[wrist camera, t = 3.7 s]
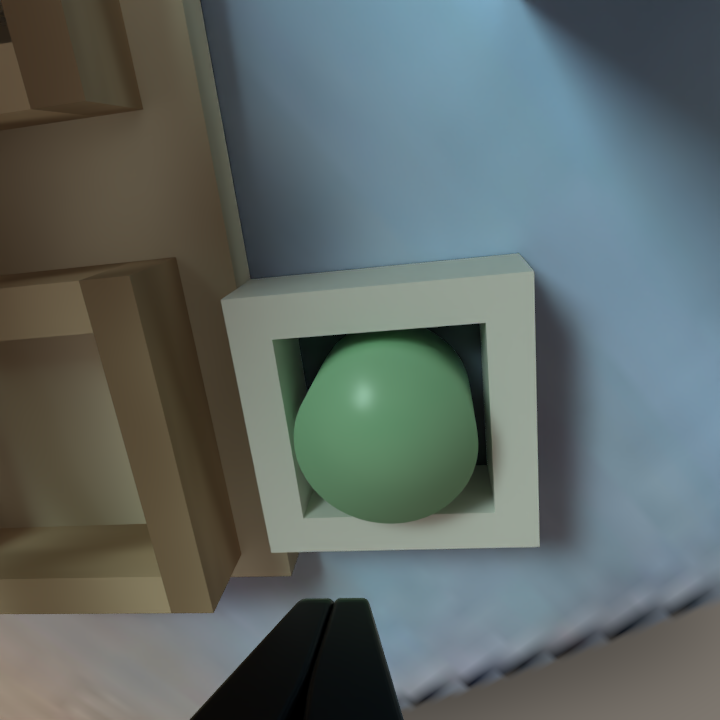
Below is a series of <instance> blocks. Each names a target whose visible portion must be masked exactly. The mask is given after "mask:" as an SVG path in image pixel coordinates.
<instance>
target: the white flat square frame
mask: <svg viewBox="0 0 720 720" xmlns="http://www.w3.org/2000/svg"><path fill="white" fill-rule="evenodd" d="M221 304H222V309H223V314H224V319H225V324H226V329H227V334H228V339H229V344H230V349H231V354H232V359H233V364H234V369H235V374H236V379H237V384H238V389H239V394H240V399H241V404H242V409H243V414H244V419H245V424H246V429H247V434H248V439H249V444H250V449H251V454H252V459H253V464H254V469H255V474H256V479H257V484H258V489H259V494H260V499H261V504H262V509H263V514H264V519H265V524H266V529H267V534H268V539H269V544H270V549H271V553H282V552H328V551H374V550H420V549H466V548H512V547H540V539H539V490H538V440H537V390H536V341H535V291H534V270H533V269H532V268H531V267H530V266H529V265H528V263H527V262H526V261H525V260H524V259H523V258H522V257H521V255H520V254H519V253H517V254H507V255H497V256H486V257H476V258H466V259H455V260H445V261H435V262H424V263H414V264H404V265H393V266H383V267H372V268H362V269H352V270H341V271H331V272H321V273H310V274H300V275H290V276H279V277H269V278H259V279H250V280H249V281H247V282H246V283H244V284H243V285H242V286H240V287H239V288H237V289H236V290H234V291H233V292H231V293H230V294H228V295H227V296H226V297H224V298H223V299H221ZM477 323H480V341H481V360H482V380H483V399H484V418H485V437H486V456H487V465H475V468H474V471H473V474H472V476H471V478H470V480H469V482H468V483H467V485H466V486H465V488H464V489H463V491H462V492H461V493H460V494H459V495H458V496H457V497H456V498H455V499H454V500H453V501H452V502H451V503H450V504H448V505H447V506H446V507H444V508H443V509H441V510H439V511H438V512H436V513H434V514H432V515H430V516H428V517H425V518H422V519H419V520H416V521H411V522H406V523H396V524H386V523H375V522H369V521H365V520H361V519H358V518H355V517H353V516H350V515H348V514H346V513H344V512H342V511H340V510H338V509H336V508H335V507H333V506H332V505H330V504H329V503H328V502H327V501H325V500H324V499H323V498H322V497H321V496H320V495H319V494H318V493H317V492H316V491H315V490H314V489H313V488H312V487H311V485H310V484H309V482H308V481H307V480H306V478H305V476H304V474H303V473H302V471H301V468H300V466H299V463H298V461H297V457H296V453H295V448H294V426H295V421H296V417H297V414H298V411H299V408H300V406H301V404H302V402H303V400H304V398H305V396H306V395H307V389H306V382H305V376H304V370H303V364H302V357H301V351H300V345H299V338H301V337H313V336H326V335H338V334H351V333H363V332H376V331H389V330H401V329H414V328H426V327H439V326H451V325H464V324H477Z"/></svg>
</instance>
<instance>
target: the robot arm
mask: <svg viewBox="0 0 720 720" xmlns="http://www.w3.org/2000/svg"><path fill="white" fill-rule="evenodd" d="M190 720H404V719H403V716H402V713H401V709H400V706H399V702H398V699H397V696H396V692H395V689H394V685H393V682H392V679H391V675H390V672H389V668H388V665H387V662H386V658H385V655H384V651H383V648H382V645H381V641H380V638H379V634H378V631H377V628H376V624H375V621H374V618H373V614H372V611H371V607H370V604H369V602H368V600H367V599H365V598H340V599H337V600H336V601H335V602H334V601H332V600H331V599H328V598H324V599H302V600H300V601H299V602H298V603H297V604H296V605H295V606H294V607H293V608H292V609H291V610H290V611H289V612H288V613H287V614H286V615H285V617H284V618H283V619H282V620H281V621H280V622H279V623H278V624H277V625H276V626H275V627H274V629H273V630H272V631H271V632H270V633H269V634H268V635H267V636H266V637H265V638H264V639H263V640H262V642H261V643H260V644H259V645H258V646H257V647H256V648H255V649H254V650H253V651H252V652H251V654H250V655H249V656H248V657H247V658H246V659H245V660H244V661H243V662H242V663H241V664H240V665H239V667H238V668H237V669H236V670H235V671H234V672H233V673H232V674H231V675H230V676H229V677H228V679H227V680H226V681H225V682H224V683H223V684H222V685H221V686H220V687H219V688H218V689H217V691H216V692H215V693H214V694H213V695H212V696H211V697H210V698H209V699H208V700H207V701H206V702H205V704H204V705H203V706H202V707H201V708H200V709H199V710H198V711H197V712H196V713H195V714H194V716H193V717H192V718H191V719H190Z"/></svg>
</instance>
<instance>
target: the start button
mask: <svg viewBox="0 0 720 720" xmlns="http://www.w3.org/2000/svg"><path fill="white" fill-rule="evenodd" d="M294 448H295V453H296V457H297V461H298V463H299V466H300V468H301V471H302V473H303V474H304V476H305V478H306V480H307V481H308V482H309V484H310V485H311V487H312V488H313V489H314V490H315V491H316V492H317V493H318V494H319V495H320V496H321V497H322V498H323V499H324V500H325V501H327V502H328V503H329V504H330V505H332V506H333V507H335V508H336V509H338V510H340V511H342V512H344V513H346V514H348V515H350V516H353V517H355V518H358V519H361V520H365V521H369V522H375V523H386V524H396V523H406V522H411V521H416V520H419V519H422V518H425V517H428V516H430V515H432V514H434V513H436V512H438V511H439V510H441V509H443V508H444V507H446V506H447V505H448V504H450V503H451V502H452V501H453V500H454V499H455V498H456V497H457V496H458V495H459V494H460V493H461V492H462V491H463V489H464V488H465V486H466V485H467V483H468V482H469V480H470V478H471V476H472V474H473V471H474V468H475V465H476V461H477V455H478V435H477V427H476V421H475V415H474V409H473V402H472V396H471V390H470V383H469V379H468V375H467V372H466V369H465V367H464V365H463V362H462V361H461V359H460V358H459V356H458V354H457V353H456V352H455V351H454V349H453V348H452V347H451V346H450V345H449V344H448V343H447V342H446V341H445V340H444V339H442V338H441V337H439V336H438V335H437V334H435V333H433V332H431V331H430V330H428V329H426V328H414V329H401V330H389V331H376V332H363V333H351V334H347V335H346V336H345V337H343V338H342V339H341V340H340V341H339V342H338V343H337V344H336V345H335V346H334V347H333V348H332V349H331V351H330V352H329V353H328V355H327V356H326V358H325V360H324V362H323V364H322V366H321V368H320V370H319V372H318V374H317V376H316V377H315V379H314V381H313V383H312V385H311V387H310V389H309V391H308V393H307V395H306V396H305V398H304V400H303V402H302V404H301V406H300V408H299V411H298V414H297V417H296V421H295V426H294Z"/></svg>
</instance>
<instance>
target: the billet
mask: <svg viewBox="0 0 720 720" xmlns="http://www.w3.org/2000/svg"><path fill="white" fill-rule="evenodd" d="M6 25H7V22H6V18H5V15H4V11H3V8H2V4H1V0H0V26H6Z"/></svg>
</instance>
